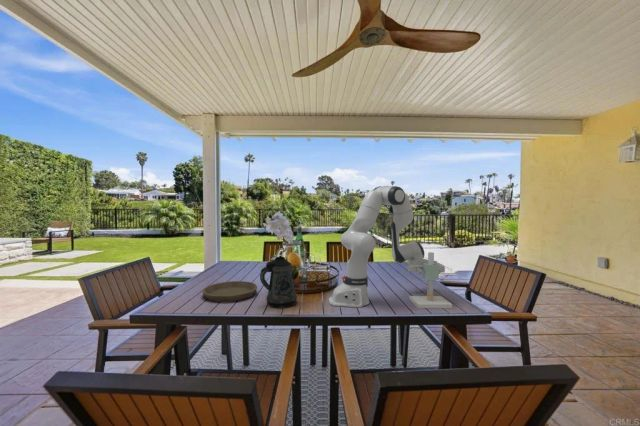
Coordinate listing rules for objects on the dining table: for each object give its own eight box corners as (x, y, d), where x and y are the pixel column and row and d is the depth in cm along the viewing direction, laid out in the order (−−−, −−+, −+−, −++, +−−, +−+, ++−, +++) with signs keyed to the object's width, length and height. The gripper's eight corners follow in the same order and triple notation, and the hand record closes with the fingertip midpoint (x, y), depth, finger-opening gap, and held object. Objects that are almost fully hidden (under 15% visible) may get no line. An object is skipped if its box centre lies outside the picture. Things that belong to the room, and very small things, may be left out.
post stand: (418, 308, 156) (419, 255, 155) (409, 299, 170) (410, 250, 169) (452, 308, 156) (453, 255, 155) (440, 299, 170) (441, 250, 169)
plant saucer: (190, 301, 165) (190, 292, 165) (221, 286, 195) (221, 279, 195) (241, 306, 158) (241, 297, 157) (265, 289, 188) (265, 282, 188)
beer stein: (302, 301, 165) (302, 256, 164) (280, 312, 148) (281, 262, 148) (279, 296, 174) (279, 253, 173) (256, 306, 157) (256, 259, 156)
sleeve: (427, 279, 159) (427, 264, 159) (422, 276, 166) (423, 262, 165) (438, 279, 160) (438, 264, 159) (433, 276, 166) (434, 262, 166)
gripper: (404, 260, 175) (412, 265, 161) (438, 260, 176) (449, 265, 162) (404, 271, 175) (412, 277, 162) (438, 271, 176) (449, 277, 162)
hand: (431, 271), depth 162 cm, fingers open, 8 cm apart
